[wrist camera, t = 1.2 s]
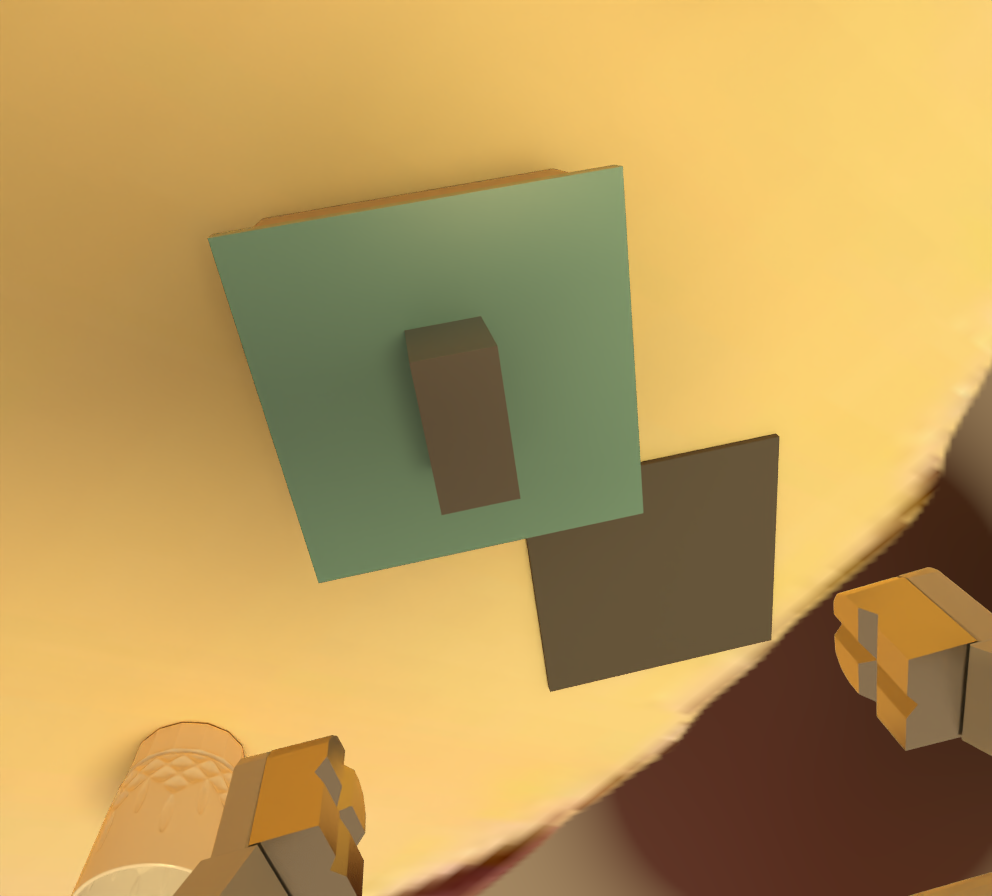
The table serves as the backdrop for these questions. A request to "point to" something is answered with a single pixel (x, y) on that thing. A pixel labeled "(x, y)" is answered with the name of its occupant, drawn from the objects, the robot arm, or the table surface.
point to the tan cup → (163, 813)
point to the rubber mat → (664, 569)
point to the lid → (445, 367)
